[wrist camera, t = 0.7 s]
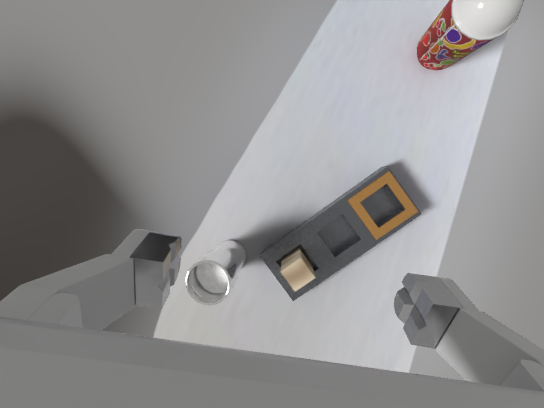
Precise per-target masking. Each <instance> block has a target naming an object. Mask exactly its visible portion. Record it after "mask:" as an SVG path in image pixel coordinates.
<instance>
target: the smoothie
mask: <svg viewBox="0 0 544 408" xmlns="http://www.w3.org/2000/svg"><path fill="white" fill-rule="evenodd" d="M523 1H524V0H449V2H448V3H447V4H446V6H445V7H444V8H443V10H442V11H441V12H440V14H439V15H438V16H437V18H436V19H435V20H434V22H433V23H432V24H431V26H430V27H429V28H428V30H427V31H426V32H425V34H424V35H423V36H422V38H421V39H420V41H419V43H418V47H417V57H418V60H419V62H420V63H421V65H422V66H424V67H425V68H427V69H431V70H442V69H444V68H446V67H448V66H450V65H452V64H453V63H455V62H457V61H458V60H460V59H462V58H463V57H465V56H467V55H468V54H470V53H472V52H473V51H475V50H476V49H478V48H480V47H481V46H483V45H485V44H486V43H488V42H490V41H491V40H493V39H495V38H496V37H498V36H501V35H502V34H504V33H505V32H506V31H507V30H509V29H510V28H511V27H512V26H513V24H514V23H515V21H516V20H517V19H518V16H519V13H520V10H521V7H522V4H523Z"/></svg>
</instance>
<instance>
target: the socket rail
mask: <svg viewBox="0 0 544 408" xmlns="http://www.w3.org/2000/svg"><path fill="white" fill-rule="evenodd" d="M419 215H421V213H420V211H419V210H418V208H417V207H416V206H415V204H414V203H413V202H412V200H411V199H410V197H409V196H408V195H407V193H406V192H405V190H404V189H403V188H402V186H401V185H400V183H399V182H398V181H397V179H396V178H395V176H394V175H393V174H392V172H391V171H390V169H389V168H388V167H381V168H380V169H378V170H377V171H375V172H374V173H373V174H371V175H370V176H368V177H367V178H366V179H364V180H363V181H361V182H360V183H359V184H357V185H356V186H354V187H353V188H352V189H350V190H349V191H347V192H346V193H345V194H343V195H342V196H340V197H339V198H337V199H336V200H335V201H333V202H332V203H330V204H329V205H328V206H326V207H325V208H323V209H322V210H321V211H319V212H318V213H316V214H315V215H314V216H312V217H311V218H309V219H308V220H307V221H305V222H304V223H302V224H301V225H299V226H298V227H297V228H295V229H294V230H292V231H291V232H290V233H288V234H287V235H285V236H284V237H283V238H281V239H280V240H278V241H277V242H276V243H274V244H273V245H271V246H270V247H269V248H267V249H266V250H264V251H263V252H262V254H261V256H260V257H261V258H262V259H263V261H264V262H265V263H266V265H267V266H268V268H269V269H270V270H271V272H272V273H273V274H274V276H275V277H276V278H277V280H278V281H279V282H280V284H281V285H282V287H283V288H284V289H285V291H286V292H287V293H288V295H289V296H290V297H291V299H292V300H293V301H294V300H295V299H297V298H298V297H300V296H301V295H303V294H304V293H306V292H307V291H309V290H310V289H312V288H313V287H315V286H316V285H318V284H319V283H321V282H322V281H323V280H325V279H326V278H328V277H329V276H331V275H332V274H334V273H335V272H337V271H338V270H340V269H341V268H343V267H344V266H346V265H347V264H348V263H350V262H351V261H353V260H354V259H356V258H357V257H359V256H360V255H362V254H363V253H365V252H366V251H368V250H369V249H371V248H372V247H374V246H375V245H376V244H378V243H379V242H381V241H382V240H384V239H385V238H387V237H388V236H390V235H391V234H393V233H394V232H396V231H397V230H399V229H400V228H402V227H403V226H404V225H406V224H407V223H409V222H410V221H412V220H413V219H415V218H416V217H418V216H419ZM299 246H300V248H301V249H302V251H303V252H304V253H305V255H306V256H307V257H308V259H309V260H310V261H311V263H312V266H313V270H314V274H315V278H314V279H313V280H312V281H310V282H309V283H307V284H306V285H304V286H303V287H301V288H300V289H298V290H297V291H294V290H293V288H292V287H291V286H290V284H289V283H288V282H287V280H286V279H285V278H284V276H283V275H282V274H281V272H280V270H281V262H282V258H283V257H285V256H286V255H288V254H289V253H290V252H292V251H293V250H295V249H296V248H298V247H299Z"/></svg>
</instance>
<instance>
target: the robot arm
mask: <svg viewBox="0 0 544 408" xmlns="http://www.w3.org/2000/svg"><path fill="white" fill-rule="evenodd" d="M180 249H181V237H180V236H175V235H170V234H164V233H159V232H153V231H152V232H151V231H147V230H140V229H135V230H133V232H132V233H131V234H130V235H129V236H128V237H127V238H126V239H125V240H124V241H123V242H122V243H121V244H120V246H119V247H118V248H117V249H116V250H115V251H114V252H113V253H112V254H111V255H109V254H105V255H102V256H100V257H97V258H94V259H91V260H89V261H86V262H83V263H80V264H78V265H75V266H72V267H69V268H67V269H64V270H61V271H58V272H56V273H53V274H50V275H47V276H44V277H42V278H39V279H36V280H34V281H31V282H28V283H25V284H23V285H20V286H19V287H17V288H16V289H15V290H14V291H13V292H11V293H10V294H9V295H8V296H6V297H5V298H4V299H3V300H2V301H1V302H0V408H544V350H543V349H542V348H540V347H539V346H537V345H535V344H534V343H532V342H531V341H529V340H527V339H526V338H524V337H523V336H521V335H519V334H518V333H516V332H515V331H513V330H512V329H510V328H508V327H507V326H505V325H503V324H502V323H500V322H499V321H497V320H496V319H494V318H492V317H491V316H489V315H488V314H486V313H485V312H480V311H479V310H478V309H477V308H476V307H475V305H474V304H473V303H472V302H471V301H470V300H469V299H468V297H467V296H466V295H465V294H464V293H463V291H462V290H460V288H459V287H458V286H457V285H456V283H455V282H454V281H453V280H451V279H449V278H442V277H432V276H425V275H418V274H411V273H408V274H407V275H406V276H405V277H404V279H403V281H402V283H403V286H404V288H402V289H401V290H399V291H398V292H397V294H396V296H395V300H394V308H395V313H396V315H397V317H398V318H399V319H400V320H401V321H402V322H403V323H405V324H404V327H403V329H404V331H405V333H406V335H407V337H408V339H409V341H410V343H411V345H417V346H423V347H429V348H435V349H436V351H437V352H438V353H439V354H440V355H441V356H442V357H443V358H444V359H445V360H446V361H447V362H448V363H449V364H450V365H451V366H452V367H453V368H454V369H455V370H456V371H457V372H458V373H459V374H460V375H461V376H462V377H463V378H464V379H465V380H466V381H462V380H454V379H448V378H440V377H433V376H426V375H419V374H411V373H404V372H397V371H390V370H382V369H375V368H368V367H361V366H354V365H347V364H339V363H332V362H325V361H318V360H311V359H304V358H296V357H289V356H282V355H275V354H267V353H260V352H253V351H246V350H238V349H231V348H224V347H216V346H209V345H202V344H194V343H187V342H180V341H173V340H165V339H158V338H151V337H144V336H136V335H130V334H122V333H116V332H108V331H101V330H102V329H104V328H105V327H107V326H108V325H109V324H111V323H112V322H114V321H115V320H116V319H118V318H119V317H121V316H122V315H124V314H125V313H127V312H128V311H130V310H131V309H132V308H134V307H135V305H136V306H144V307H153V308H163V306H164V304H165V302H166V300H167V298H168V296H169V293H170V286H172V285H174V283H175V281H176V279H177V276H178V273H179V269H180V261H181V258H180V256H179V255H178V252H179V251H180Z"/></svg>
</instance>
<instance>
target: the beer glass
mask: <svg viewBox="0 0 544 408" xmlns="http://www.w3.org/2000/svg"><path fill="white" fill-rule="evenodd" d="M245 260H246V253H245V250H244V248H243V246H242V245H241V244H240V243H238V242H236V241H233V240H227V241H224V242H222V243H221V244H219V245H218V247H217V248H216V249H214V250H211V251H209V252H207V253H205V254H204V255H203V256H201V257H200V258H199V259H198V260H197V261H196V262H195V263H194V265H193V266H192V267H191V268H190V269H189V271H188V273H187V275H186V288H187V291H188V293H189V294H190V296H191V297H192V298H193V299H194V300H195V301H197V302H199V303H201V304H204V305H214V304H217V303H219V302H221V301H223V300H224V299H225V298H226V297H227V295H228V294H229V293H230V291H231V290H232V289H233V287H234V286H235V284H236V282H237V279H238V276H239V271H240V268H241V267H242V266H243V264H244V263H245Z"/></svg>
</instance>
